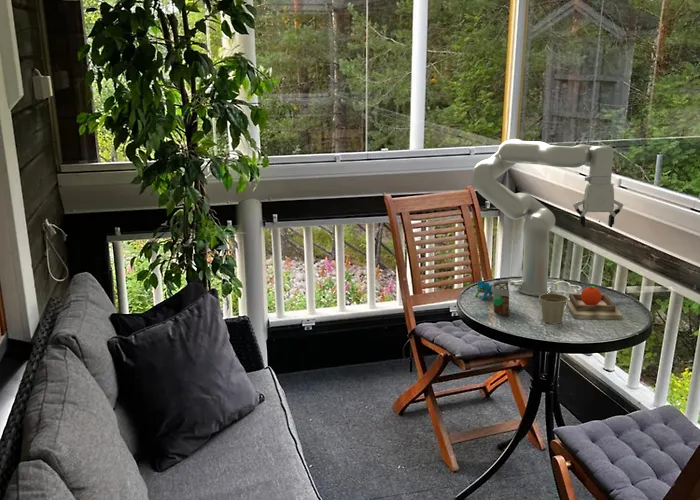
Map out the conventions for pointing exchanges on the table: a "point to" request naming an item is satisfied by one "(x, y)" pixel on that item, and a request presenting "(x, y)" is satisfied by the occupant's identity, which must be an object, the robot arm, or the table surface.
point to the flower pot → (552, 307)
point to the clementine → (591, 295)
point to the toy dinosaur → (484, 289)
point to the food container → (501, 298)
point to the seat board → (592, 308)
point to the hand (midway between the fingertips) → (596, 226)
